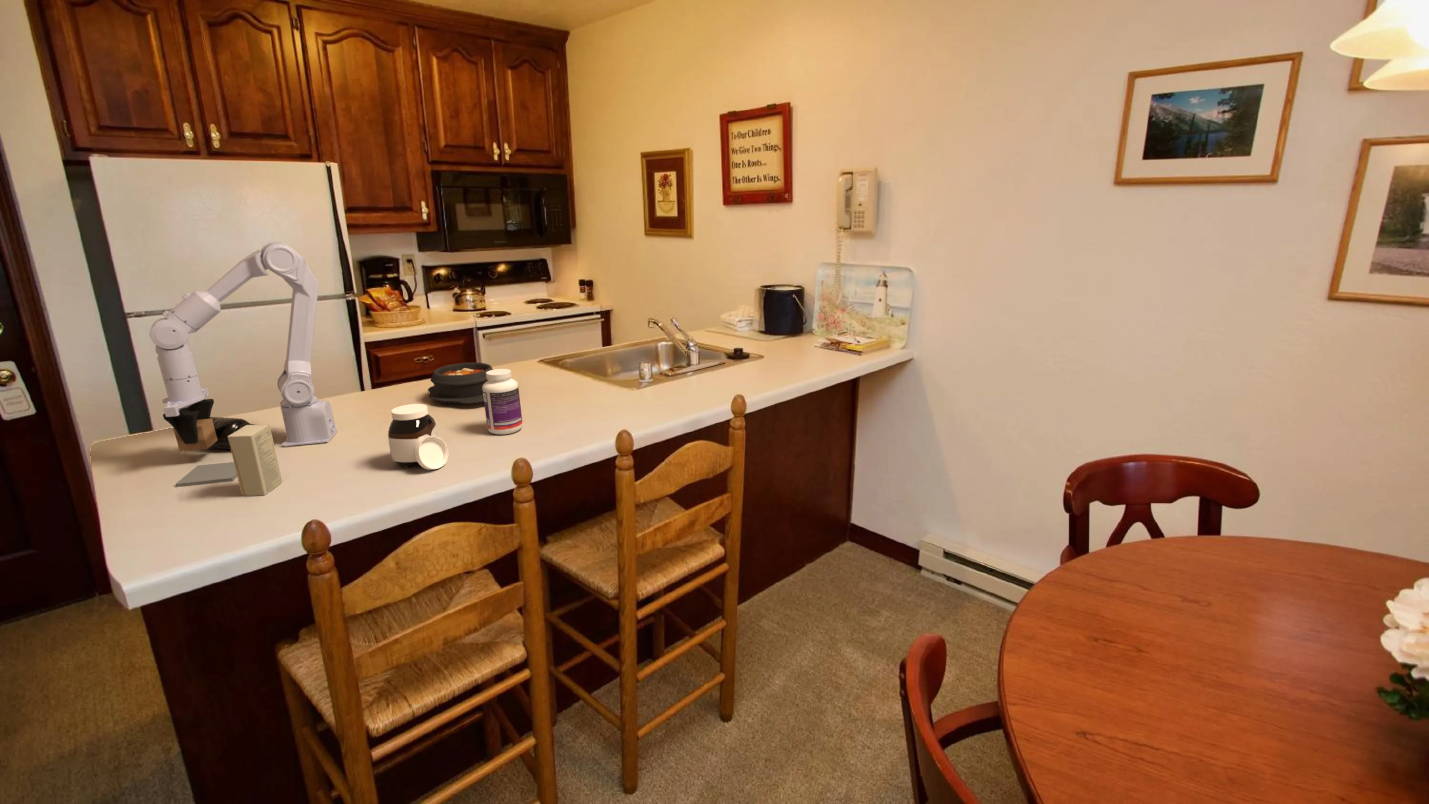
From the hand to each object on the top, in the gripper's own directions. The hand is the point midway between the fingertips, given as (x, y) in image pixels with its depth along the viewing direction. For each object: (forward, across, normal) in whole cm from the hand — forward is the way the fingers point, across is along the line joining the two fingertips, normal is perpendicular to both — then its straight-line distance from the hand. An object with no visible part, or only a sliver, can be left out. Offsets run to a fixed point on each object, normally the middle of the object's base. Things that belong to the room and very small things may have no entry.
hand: (197, 438), depth 139 cm
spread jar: (+5, +16, +46) cm, 49 cm away
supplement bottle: (+1, -9, -2) cm, 9 cm away
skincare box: (+5, +21, +18) cm, 28 cm away
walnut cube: (+2, 0, 0) cm, 2 cm away
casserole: (+5, -31, +51) cm, 60 cm away
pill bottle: (+5, 0, +62) cm, 62 cm away
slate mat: (+5, +10, +6) cm, 13 cm away
